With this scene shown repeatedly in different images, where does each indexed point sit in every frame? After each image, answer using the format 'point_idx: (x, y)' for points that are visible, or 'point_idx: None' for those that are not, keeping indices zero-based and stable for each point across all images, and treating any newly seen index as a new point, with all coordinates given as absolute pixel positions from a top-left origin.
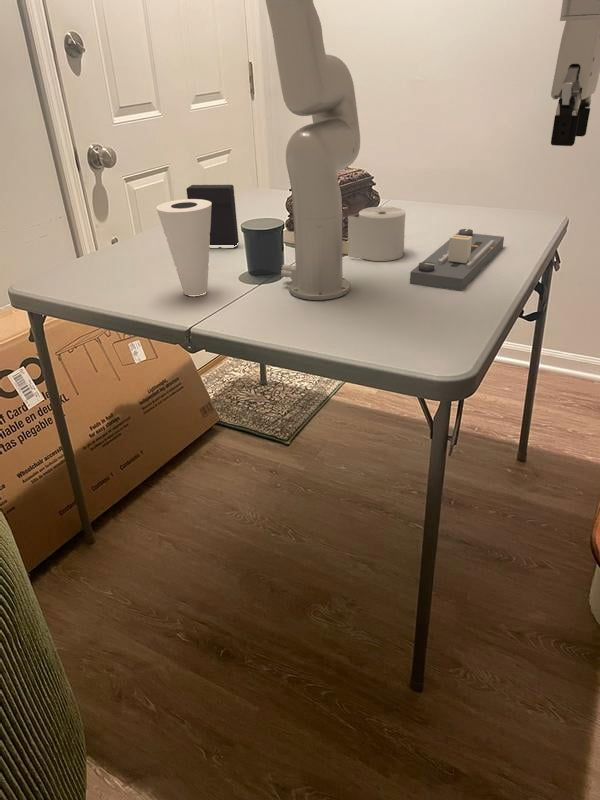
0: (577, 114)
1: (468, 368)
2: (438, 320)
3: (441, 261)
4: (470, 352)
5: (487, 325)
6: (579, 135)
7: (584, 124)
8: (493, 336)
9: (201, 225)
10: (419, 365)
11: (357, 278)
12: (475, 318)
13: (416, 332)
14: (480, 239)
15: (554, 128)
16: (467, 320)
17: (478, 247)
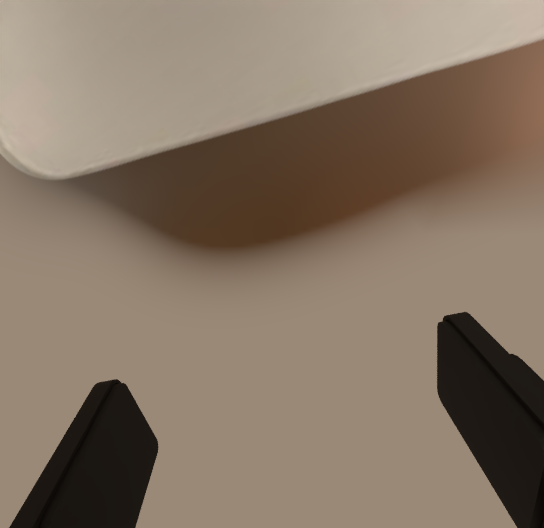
0: (507, 463)
1: (61, 172)
2: (165, 21)
3: None
4: (103, 147)
5: (208, 115)
6: (438, 380)
7: (469, 439)
8: (177, 146)
9: None
10: (5, 107)
11: None
12: (221, 80)
13: (90, 18)
14: None
15: (60, 457)
16: (203, 72)
17: None
